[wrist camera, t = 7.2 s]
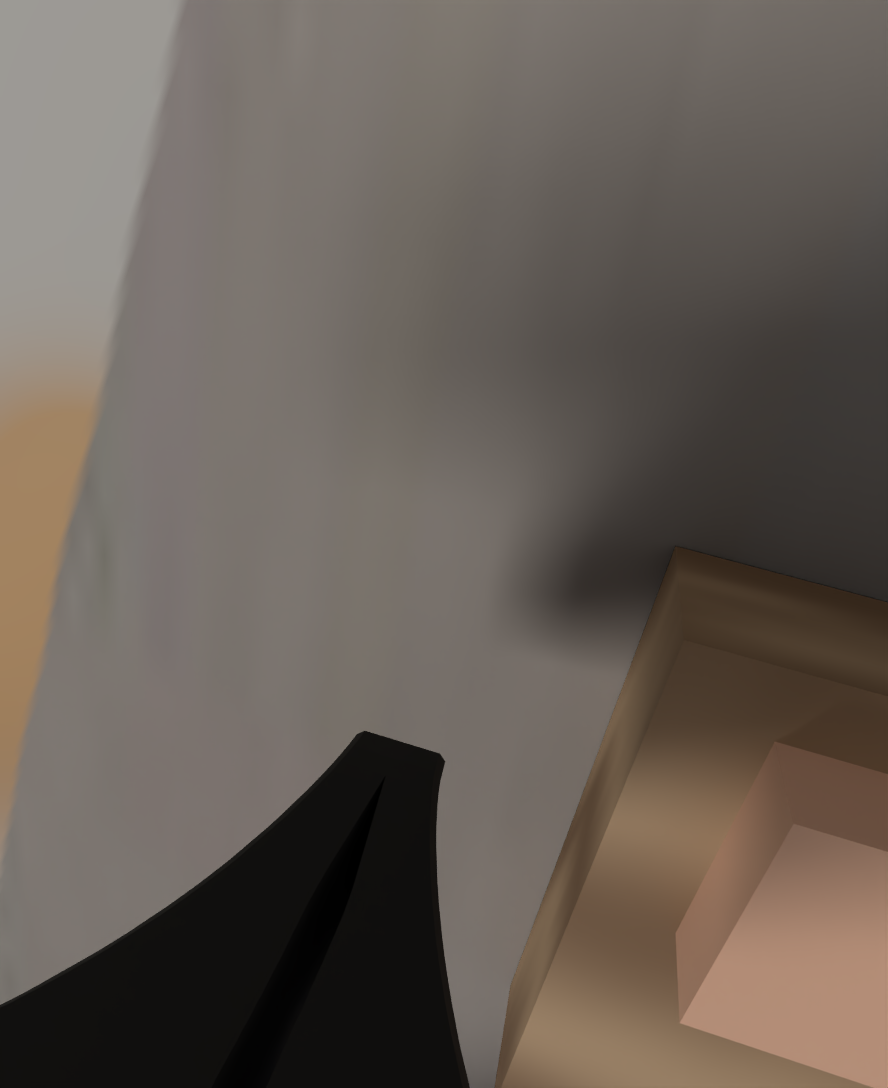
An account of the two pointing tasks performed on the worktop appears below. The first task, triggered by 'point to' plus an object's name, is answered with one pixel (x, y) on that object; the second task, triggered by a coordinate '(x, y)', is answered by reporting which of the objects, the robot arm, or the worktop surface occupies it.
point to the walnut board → (685, 821)
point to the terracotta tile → (797, 920)
